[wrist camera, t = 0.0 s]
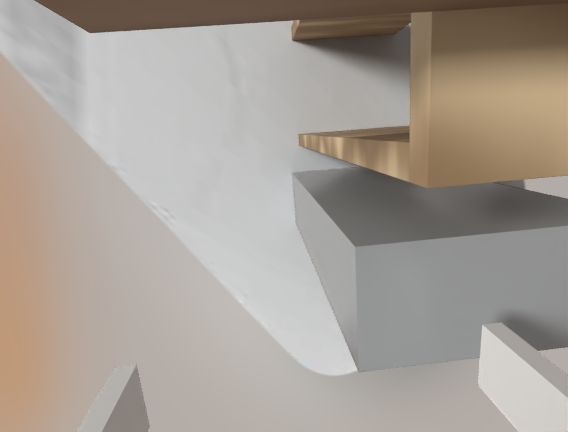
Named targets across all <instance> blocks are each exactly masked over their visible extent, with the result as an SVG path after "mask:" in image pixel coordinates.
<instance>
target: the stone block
mask: <svg viewBox="0 0 568 432" xmlns="http://www.w3.org/2000/svg"><path fill="white" fill-rule="evenodd" d="M292 176H293V190H294V204H295V218H296V225H297V227H298V230H299V232H300V234H301V237H302V239H303V241H304V244H305V246H306V249H307V251H308V253H309V256H310V258H311V260H312V263H313V265H314V267H315V270H316V272H317V275H318V277H319V279H320V282H321V284H322V286H323V289H324V291H325V294H326V296H327V298H328V301H329V303H330V305H331V308H332V310H333V313H334V315H335V317H336V320H337V322H338V324H339V327H340V329H341V331H342V334H343V336H344V339H345V341H346V343H347V346H348V348H349V350H350V353H351V355H352V358H353V360H354V362H355V365H356V367H357V369H358V372H365V371H374V370H382V369H391V368H399V367H407V366H415V365H423V364H432V363H440V362H448V361H456V360H464V359H473V358H480V349H481V335H482V325H483V324H492V323H503V324H504V325H505V326H506V327H508V328H509V329H510V330H512V331H513V332H514V333H515V334H517V335H518V336H519V337H520V338H522V339H523V340H524V341H526V342H527V343H528V344H529V345H531V346H532V347H533V348H535V349H536V350H537V351H540V350H548V349H556V348H565V347H568V199H566V198H561V197H556V196H552V195H547V194H542V193H538V192H534V191H529V190H525V189H520V188H515V187H511V186H506V185H502V184H497V183H492V182H490V183H479V184H468V185H457V186H446V187H435V188H426V187H423V186H420V185H417V184H414V183H411V182H408V181H405V180H402V179H399V178H396V177H393V176H390V175H387V174H384V173H381V172H378V171H375V170H372V169H369V168H366V167H353V168H342V169H330V170H319V171H307V172H296V173H292Z"/></svg>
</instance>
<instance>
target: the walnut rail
mask: <svg viewBox="0 0 568 432" xmlns="http://www.w3.org/2000/svg"><path fill="white" fill-rule="evenodd" d="M35 1H36V2H38V3H40V4H42V5H43V6H45V7H47V8H48V9H50V10H52V11H53V12H55V13H57V14H58V15H60V16H62V17H64V18H65V19H67V20H69V21H70V22H72V23H74V24H75V25H77V26H79V27H81V28H82V29H84V30H86V31H87V32H89V33H99V32H115V31H131V30H147V29H163V28H179V27H195V26H211V25H227V24H242V23H258V22H274V21H290V20H306V19H322V18H338V17H354V16H370V15H386V14H402V13H418V12H434V11H450V10H466V9H482V8H498V7H513V6H529V5H545V4H561V3H568V0H35Z"/></svg>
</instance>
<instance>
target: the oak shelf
mask: <svg viewBox="0 0 568 432" xmlns="http://www.w3.org/2000/svg"><path fill="white" fill-rule="evenodd" d="M409 23H411V62H410V126H398V127H384V128H371V129H359V130H347V131H335V132H322V133H310V134H298V135H299V145H300V146H303V147H306V148H309V149H312V150H315V151H318V152H321V153H324V154H327V155H330V156H333V157H336V158H339V159H342V160H345V161H348V162H351V163H354V164H357V165H360V166H363V167H366V168H369V169H372V170H375V171H378V172H381V173H384V174H387V175H390V176H393V177H396V178H399V179H402V180H405V181H408V182H411V183H414V184H417V185H420V186H423V187H426V188H435V187H446V186H457V185H468V184H479V183H490V182H501V181H512V180H523V179H533V178H544V177H555V176H566V175H568V3H561V4H545V5H529V6H513V7H498V8H482V9H466V10H450V11H434V12H418V13H402V14H386V15H370V16H354V17H338V18H322V19H306V20H294V22H293V25H292V40H305V39H321V38H336V37H351V36H366V35H381V34H395V33H397V32H398V31H399V30H401V29H402V28H404V27H405V26H406V25H408V24H409Z"/></svg>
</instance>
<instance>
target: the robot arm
mask: <svg viewBox="0 0 568 432" xmlns="http://www.w3.org/2000/svg"><path fill="white" fill-rule="evenodd" d="M478 386H479V387H480V388H481V389H482V390H483V391H484V392H485V394H486V395H487V396H488V397H489V398H490V399H491V401H492V402H493V403H494V404H495V405H496V406H497V408H498V409H499V410H500V411H501V412H502V413H503V414H504V416H505V417H506V418H507V419H508V420H509V421H510V422H511V424H512V425H513V426H514V427H515V428H516V429H517V430H518V432H568V374H566V373H565V372H564V371H563V370H561V369H560V368H559V367H557V366H556V365H555V364H554V363H552V362H551V361H550V360H548V359H547V358H546V357H545V356H543V355H542V354H541V353H540V352H538V351H537V350H536V349H535V348H533V347H532V346H531V345H529V344H528V343H527V342H526V341H524V340H523V339H522V338H520V337H519V336H518V335H517V334H515V333H514V332H513V331H512V330H510V329H509V328H508V327H506V326H505V325H504V324H503V323H492V324H483V325H482V335H481V349H480V363H479V377H478ZM148 429H149V421H148V416H147V412H146V407H145V402H144V397H143V392H142V388H141V383H140V378H139V373H138V369H137V364H136V365H128V366H119V367H115V368H114V370H113V371H112V373H111V375H110V376H109V378H108V380H107V381H106V383H105V385H104V386H103V388H102V390H101V391H100V393H99V395H98V396H97V398H96V400H95V401H94V403H93V405H92V406H91V408H90V410H89V411H88V413H87V415H86V416H85V418H84V420H83V421H82V423H81V425H80V426H79V428H78V429H77V431H76V432H148Z"/></svg>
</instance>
